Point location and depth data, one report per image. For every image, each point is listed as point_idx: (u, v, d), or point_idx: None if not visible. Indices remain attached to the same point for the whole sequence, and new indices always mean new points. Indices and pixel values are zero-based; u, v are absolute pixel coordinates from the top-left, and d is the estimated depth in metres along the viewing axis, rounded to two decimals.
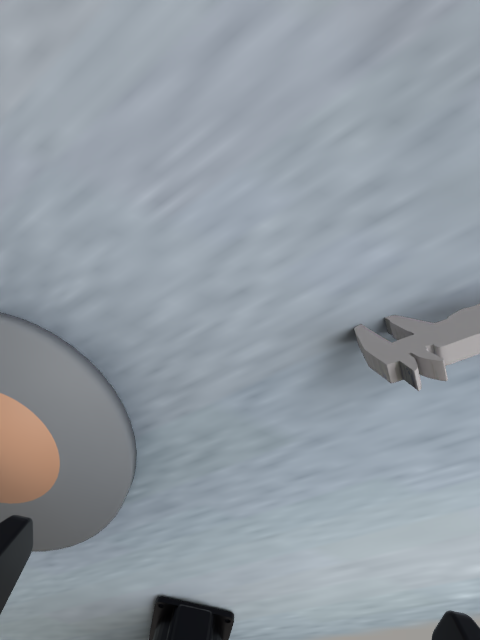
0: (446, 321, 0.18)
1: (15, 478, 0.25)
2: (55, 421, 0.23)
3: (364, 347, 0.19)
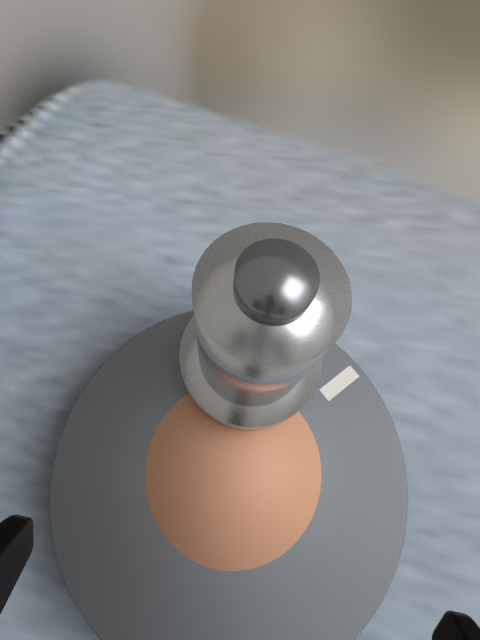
0: None
1: (220, 522, 0.18)
2: (335, 496, 0.19)
3: None
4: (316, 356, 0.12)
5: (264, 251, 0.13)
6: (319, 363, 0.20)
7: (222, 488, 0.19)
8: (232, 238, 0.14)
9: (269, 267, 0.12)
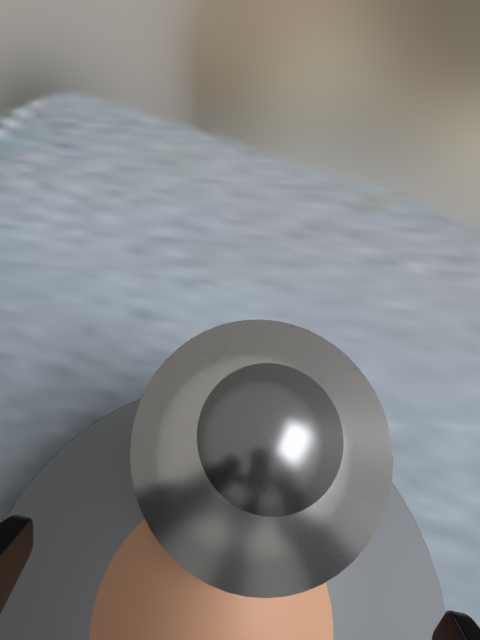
0: None
1: None
2: None
3: None
4: (337, 573, 0.07)
5: (249, 388, 0.07)
6: None
7: None
8: (201, 348, 0.09)
9: (257, 419, 0.07)
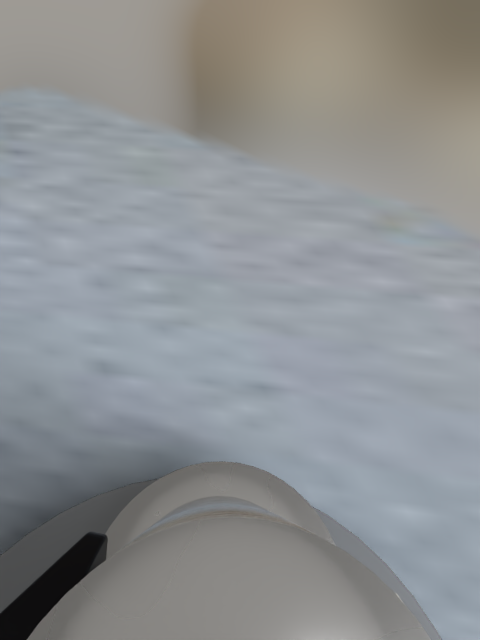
0: None
1: None
2: None
3: None
4: None
5: None
6: None
7: None
8: (112, 593, 0.04)
9: None
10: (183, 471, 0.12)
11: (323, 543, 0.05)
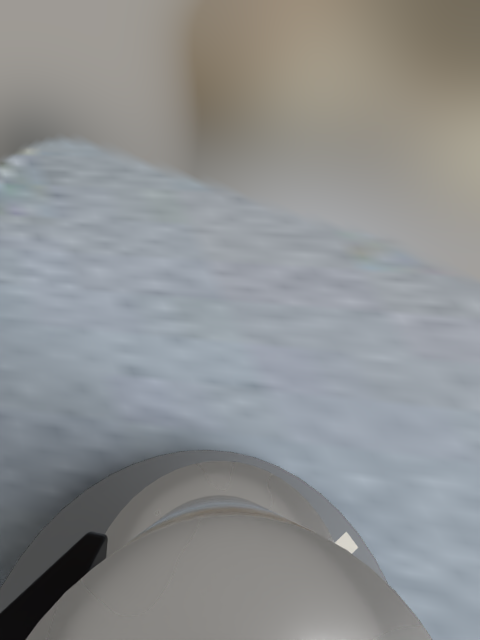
0: None
1: None
2: None
3: None
4: None
5: None
6: None
7: None
8: (112, 590, 0.04)
9: None
10: (183, 471, 0.12)
11: (323, 541, 0.05)
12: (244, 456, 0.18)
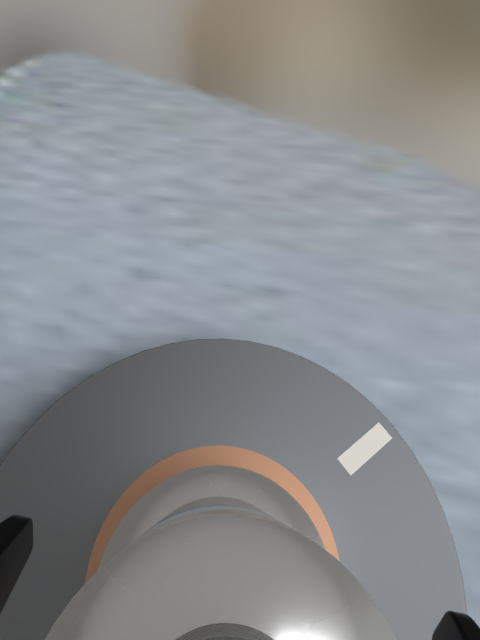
0: None
1: None
2: None
3: None
4: None
5: None
6: None
7: None
8: (129, 574, 0.06)
9: None
10: (184, 474, 0.13)
11: (297, 535, 0.06)
12: (264, 345, 0.17)
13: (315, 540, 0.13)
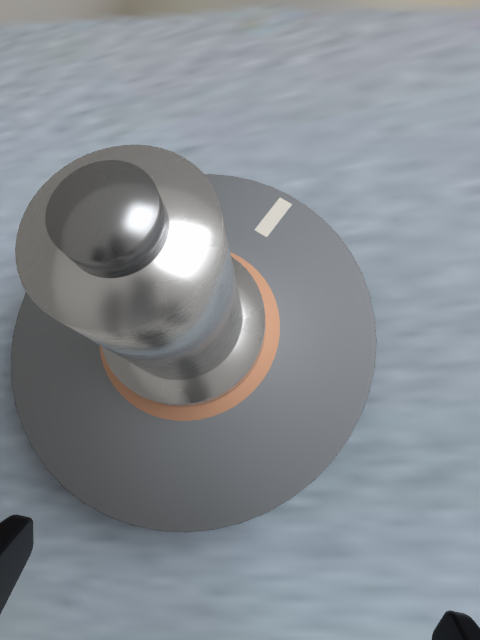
0: None
1: None
2: (296, 320, 0.18)
3: None
4: (189, 294, 0.09)
5: (80, 184, 0.09)
6: (260, 303, 0.17)
7: None
8: (55, 185, 0.11)
9: (90, 202, 0.09)
10: None
11: (139, 146, 0.11)
12: None
13: (240, 268, 0.18)
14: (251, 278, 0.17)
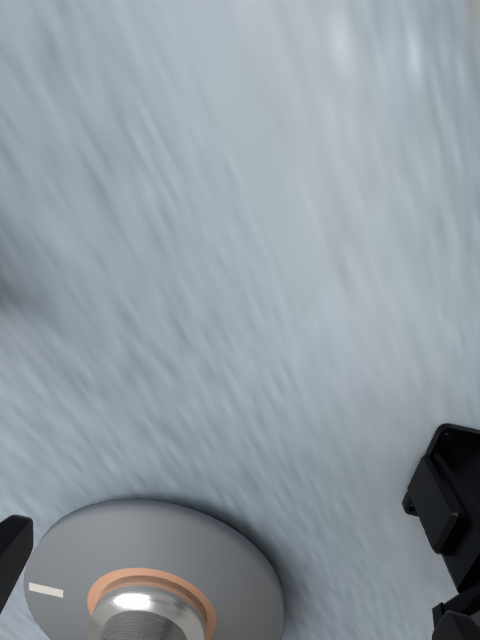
0: None
1: None
2: (108, 562, 0.24)
3: None
4: None
5: None
6: (108, 605, 0.23)
7: None
8: None
9: None
10: None
11: None
12: None
13: (93, 620, 0.24)
14: (95, 612, 0.24)
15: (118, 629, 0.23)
